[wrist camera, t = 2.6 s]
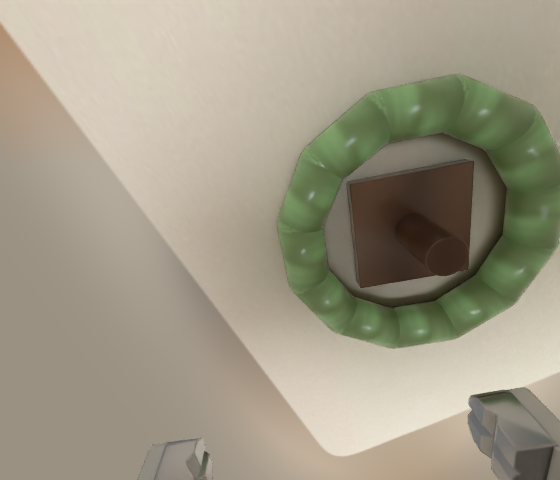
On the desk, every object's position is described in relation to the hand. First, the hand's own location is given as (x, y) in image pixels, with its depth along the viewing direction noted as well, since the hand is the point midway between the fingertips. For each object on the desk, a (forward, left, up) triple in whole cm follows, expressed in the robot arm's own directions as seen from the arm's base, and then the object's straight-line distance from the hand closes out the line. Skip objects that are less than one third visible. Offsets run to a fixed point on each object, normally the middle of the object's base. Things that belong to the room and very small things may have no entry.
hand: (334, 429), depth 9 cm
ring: (-8, 0, -13) cm, 15 cm away
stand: (-8, 0, -14) cm, 16 cm away
